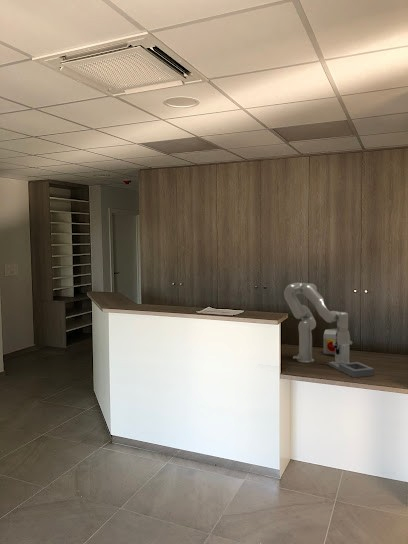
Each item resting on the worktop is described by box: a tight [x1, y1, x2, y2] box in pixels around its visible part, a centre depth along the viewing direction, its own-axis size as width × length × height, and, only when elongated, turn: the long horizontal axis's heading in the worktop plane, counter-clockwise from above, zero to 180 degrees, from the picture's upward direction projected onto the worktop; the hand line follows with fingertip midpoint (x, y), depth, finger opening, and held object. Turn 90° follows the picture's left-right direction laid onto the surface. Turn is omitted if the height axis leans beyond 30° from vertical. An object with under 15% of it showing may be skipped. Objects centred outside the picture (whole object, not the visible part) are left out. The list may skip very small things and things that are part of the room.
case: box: [325, 361, 376, 379], centre depth 319 cm, size 16×34×4 cm, turn 16°
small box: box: [334, 344, 350, 363], centre depth 327 cm, size 8×6×13 cm
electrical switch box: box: [323, 328, 337, 356], centre depth 360 cm, size 14×15×20 cm
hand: (342, 353), depth 327 cm, fingers closed on small box, 7 cm apart
